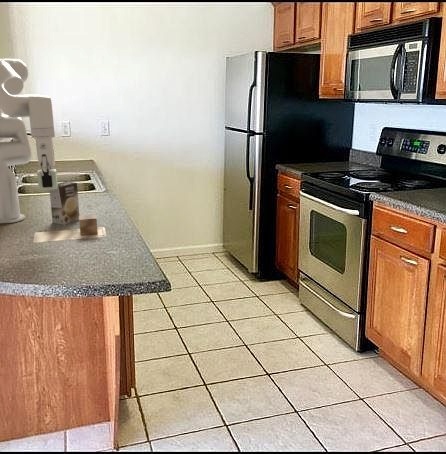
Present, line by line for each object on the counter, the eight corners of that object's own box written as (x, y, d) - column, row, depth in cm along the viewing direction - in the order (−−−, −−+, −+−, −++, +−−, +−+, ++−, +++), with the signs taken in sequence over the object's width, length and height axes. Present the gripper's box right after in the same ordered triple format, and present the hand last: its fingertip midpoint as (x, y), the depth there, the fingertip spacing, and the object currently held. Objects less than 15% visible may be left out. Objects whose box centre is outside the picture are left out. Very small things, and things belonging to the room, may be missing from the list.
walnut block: (80, 235, 179) (79, 219, 178) (80, 231, 185) (78, 215, 183) (97, 234, 181) (96, 218, 179) (96, 230, 186) (95, 214, 185)
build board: (32, 245, 172) (32, 242, 172) (35, 235, 184) (34, 232, 184) (107, 239, 179) (106, 235, 178) (104, 229, 191) (104, 226, 190)
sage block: (38, 190, 171) (36, 172, 169) (40, 186, 177) (38, 170, 175) (57, 189, 173) (55, 171, 171) (57, 185, 178) (56, 169, 177)
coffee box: (64, 227, 194) (60, 186, 190) (52, 225, 197) (48, 185, 193) (80, 221, 202) (77, 182, 198) (68, 219, 205) (65, 181, 201)
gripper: (53, 134, 162) (58, 189, 167) (55, 130, 178) (60, 180, 183) (28, 135, 161) (34, 190, 165) (33, 131, 177) (38, 181, 181)
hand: (48, 184), depth 174 cm, fingers closed on sage block, 6 cm apart
